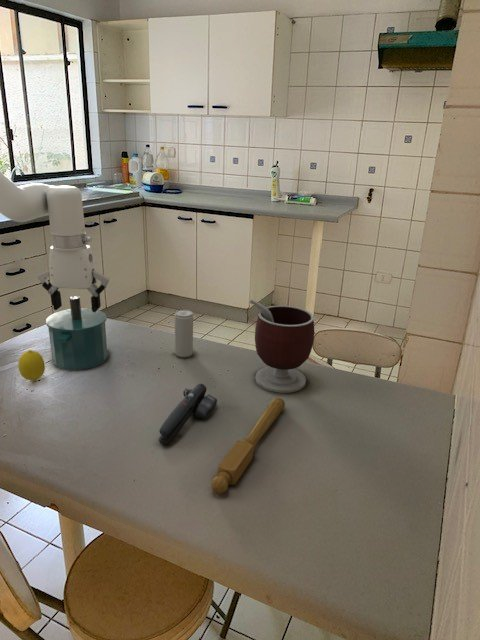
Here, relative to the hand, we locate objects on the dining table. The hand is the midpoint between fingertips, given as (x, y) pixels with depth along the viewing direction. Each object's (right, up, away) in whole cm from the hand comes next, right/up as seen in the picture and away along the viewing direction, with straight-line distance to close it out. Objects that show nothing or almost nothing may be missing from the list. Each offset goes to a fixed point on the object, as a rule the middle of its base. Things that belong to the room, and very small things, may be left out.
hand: (76, 309), depth 115 cm
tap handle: (+43, -27, -26) cm, 57 cm away
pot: (-1, -13, +5) cm, 14 cm away
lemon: (-8, -17, -7) cm, 20 cm away
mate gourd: (+50, -17, -1) cm, 53 cm away
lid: (0, -3, +1) cm, 3 cm away
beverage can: (+25, -12, +9) cm, 30 cm away
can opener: (+29, -24, -19) cm, 43 cm away
